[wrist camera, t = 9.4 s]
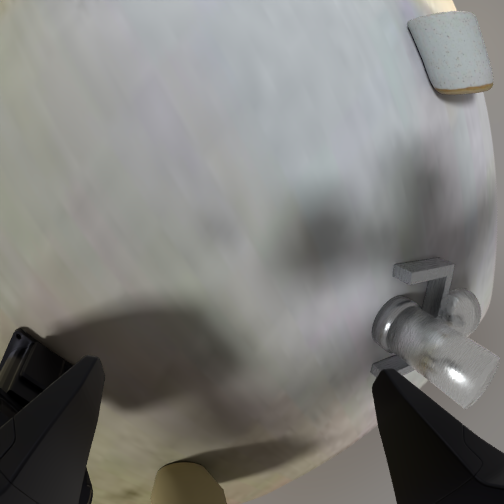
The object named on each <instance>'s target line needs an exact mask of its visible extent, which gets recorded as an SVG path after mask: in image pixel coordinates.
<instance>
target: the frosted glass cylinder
mask: <svg viewBox="0 0 504 504" xmlns="http://www.w3.org/2000/svg"><path fill="white" fill-rule="evenodd" d="M372 337H373V339H374V341H375V342H376V343H377V344H379V345H380V346H381V347H382V348H384V349H385V350H386V351H387V352H389V353H395V354H396V355H397V356H398V357H400V358H401V359H402V360H404V361H405V362H406V363H407V364H409V365H410V366H411V367H412V368H414V369H415V370H416V371H417V372H419V373H420V374H421V375H423V376H424V377H425V378H426V379H428V380H429V381H430V382H431V383H433V384H434V385H435V386H436V387H438V388H439V389H440V390H442V391H443V392H444V393H445V394H446V395H448V396H449V397H450V398H451V399H453V400H454V401H455V402H457V403H458V404H459V405H460V406H461V407H463V408H464V409H467V408H469V407H470V406H472V405H473V404H474V403H475V402H476V401H477V400H478V399H479V397H480V396H481V395H482V393H483V392H484V391H485V389H486V388H487V387H488V385H489V383H490V382H491V380H492V378H493V376H494V374H495V372H496V370H497V368H498V365H499V361H500V358H499V357H498V356H497V355H495V354H494V353H492V352H491V351H489V350H487V349H486V348H484V347H483V346H481V345H479V344H478V343H476V342H475V341H473V340H471V339H470V338H468V337H467V336H465V335H463V334H462V333H460V332H458V331H457V330H455V329H454V328H452V327H450V326H449V325H447V324H445V323H444V322H442V321H440V320H439V319H437V318H435V317H434V316H432V315H430V314H428V313H427V312H425V311H423V310H422V308H421V306H420V305H419V304H417V303H415V302H414V301H412V300H410V299H409V298H407V297H405V296H396V297H394V298H392V299H391V300H389V301H388V302H387V303H386V304H385V305H384V306H383V307H382V308H381V310H380V311H379V313H378V314H377V316H376V318H375V320H374V323H373V327H372Z"/></svg>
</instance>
